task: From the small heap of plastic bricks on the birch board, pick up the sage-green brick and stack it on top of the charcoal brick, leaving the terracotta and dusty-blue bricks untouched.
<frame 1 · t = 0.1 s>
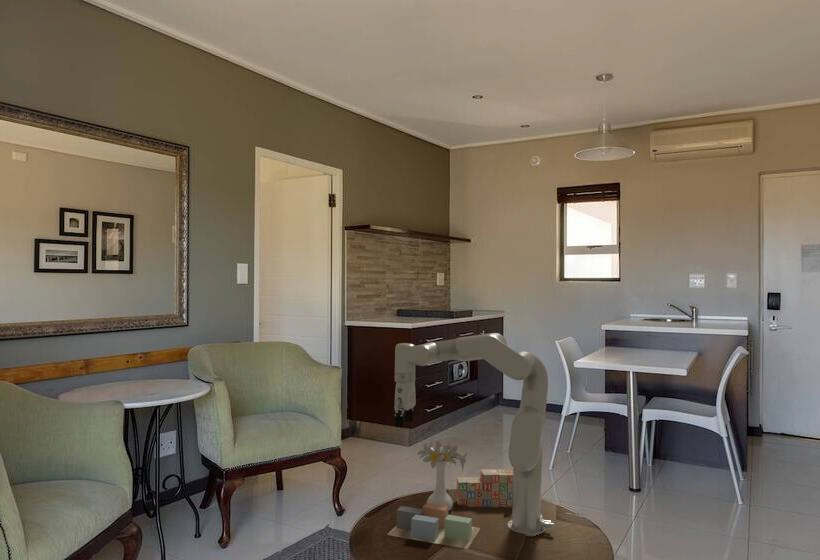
hand: (404, 424, 218), 31 cm above the table, tool pointing down, fingers open, 9 cm apart
birch board: (434, 534, 197), on the table
flower vase: (441, 512, 216), on the table
charcoal brick: (409, 527, 200), point 1 cm above the table, touching birch board
sage brick: (458, 537, 193), point 1 cm above the table, touching birch board
dusty blue brick: (424, 537, 193), point 1 cm above the table, touching birch board
stack of blocks: (485, 504, 225), on the table
terracotta brick: (435, 524, 203), point 1 cm above the table, touching birch board
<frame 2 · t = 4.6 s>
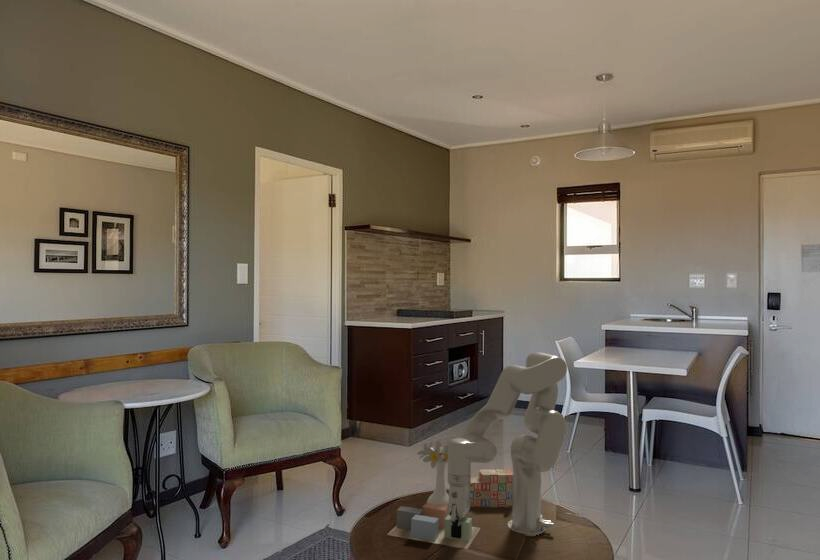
hand: (458, 533, 193), 2 cm above the table, tool pointing down, fingers closed on sage brick, 4 cm apart
sage brick: (458, 537, 193), point 1 cm above the table, touching birch board, gripper
everything else where it was.
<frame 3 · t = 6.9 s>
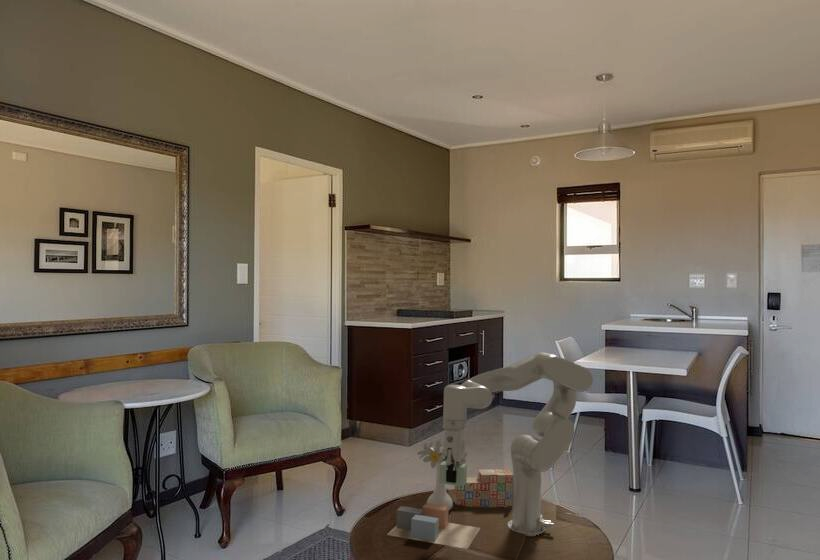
hand: (453, 479, 193), 20 cm above the table, tool pointing down, fingers closed on sage brick, 4 cm apart
sage brick: (452, 482, 193), point 18 cm above the table, touching gripper
everything else where it was.
when the fingers open (9 cm above the table, at t = 9.5 s): sage brick stays where it is, resting on charcoal brick.
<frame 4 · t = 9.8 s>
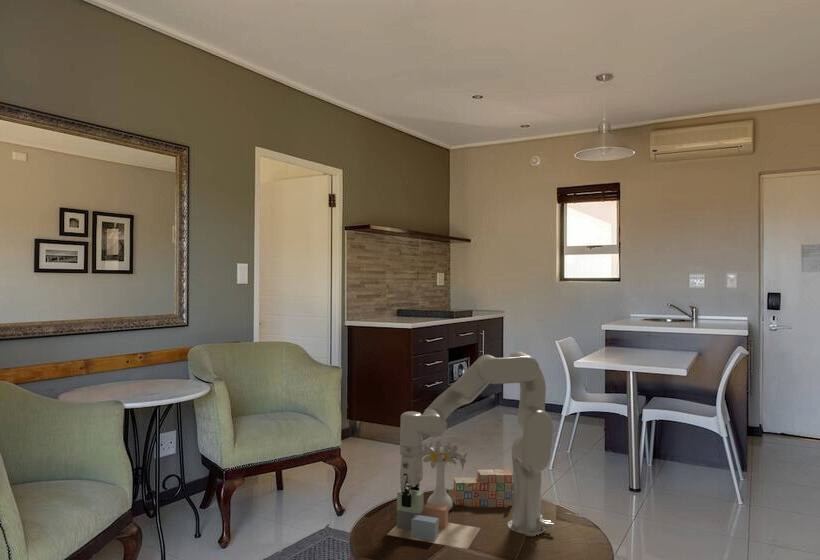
hand: (410, 502, 200), 10 cm above the table, tool pointing down, fingers open, 7 cm apart
charcoal brick: (409, 527, 200), point 1 cm above the table, touching birch board, sage brick
sage brick: (410, 509, 200), point 7 cm above the table, touching charcoal brick
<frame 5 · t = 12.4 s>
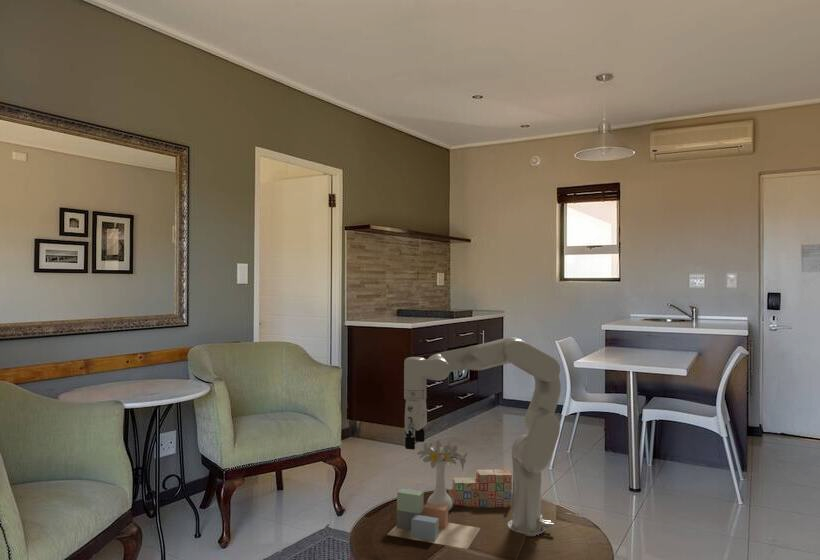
hand: (415, 445, 200), 29 cm above the table, tool pointing down, fingers open, 9 cm apart
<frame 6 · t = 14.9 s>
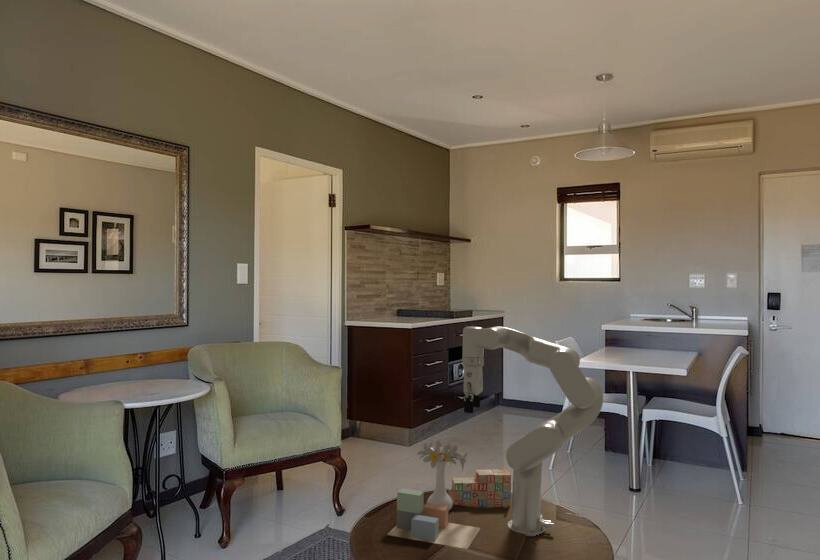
hand: (472, 409, 211), 38 cm above the table, tool pointing down, fingers open, 9 cm apart
at the end: sage brick 0.0 cm off-centre on the charcoal brick, point 6.0 cm above the charcoal brick's base; terracotta brick moved 0.0 cm from its start; dusty blue brick moved 0.0 cm from its start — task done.
